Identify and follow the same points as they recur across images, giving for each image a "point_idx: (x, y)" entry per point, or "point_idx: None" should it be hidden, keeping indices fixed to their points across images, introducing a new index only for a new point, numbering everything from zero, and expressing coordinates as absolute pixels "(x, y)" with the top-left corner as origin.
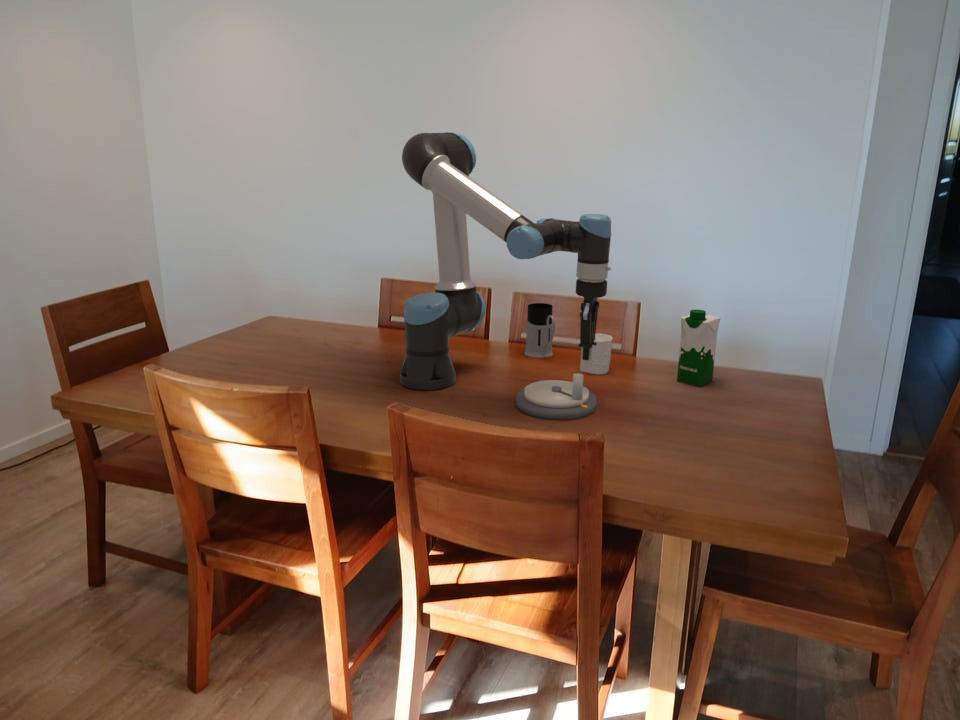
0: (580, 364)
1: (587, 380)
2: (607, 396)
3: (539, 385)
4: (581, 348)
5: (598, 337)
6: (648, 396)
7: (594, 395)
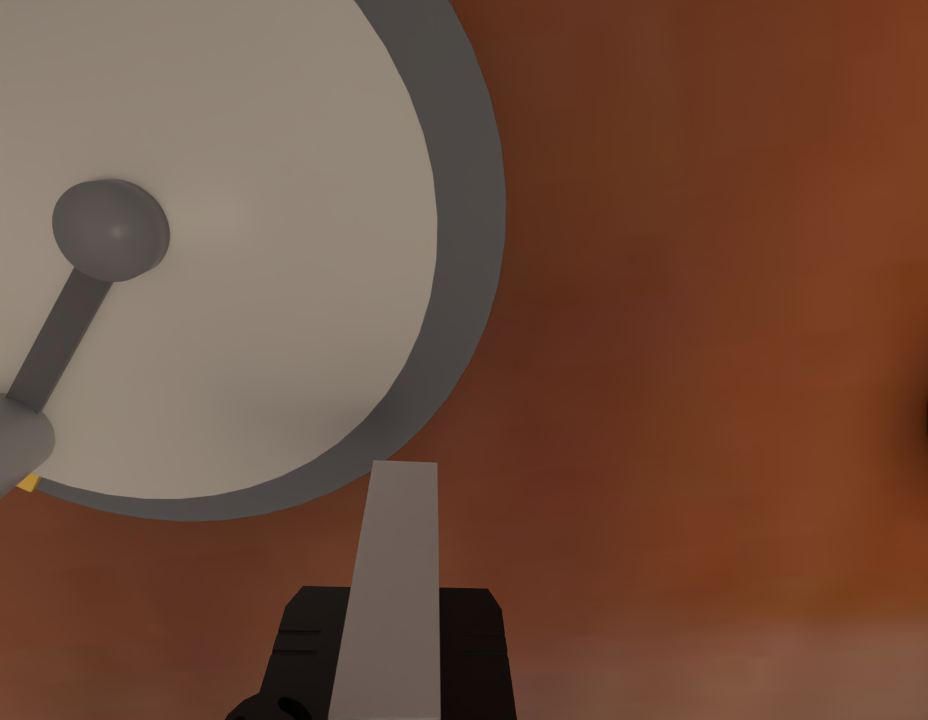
0: (366, 505)
1: (790, 362)
2: (476, 522)
3: (201, 14)
4: (336, 682)
5: None
6: (536, 712)
7: (312, 493)
